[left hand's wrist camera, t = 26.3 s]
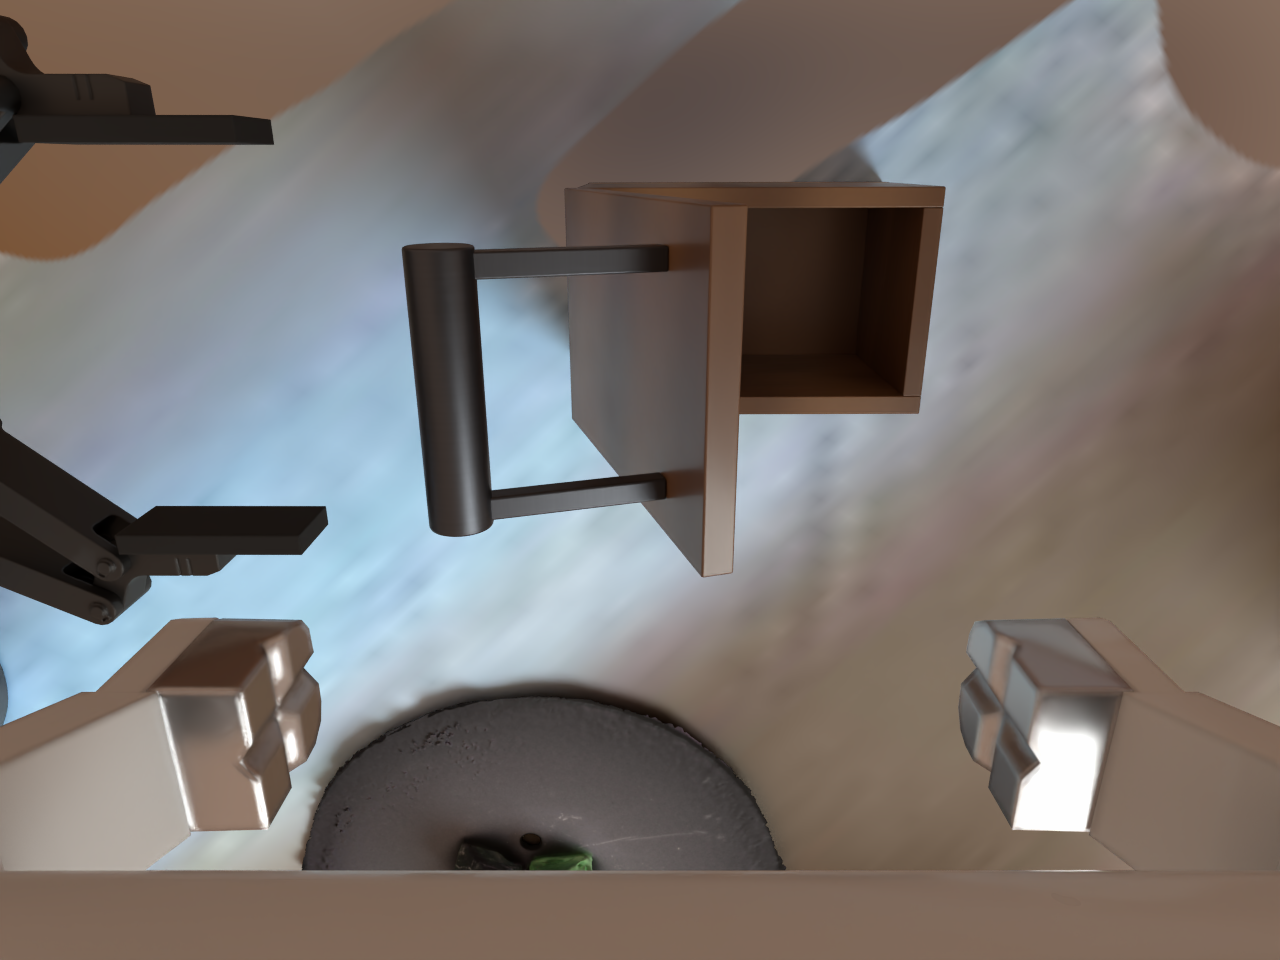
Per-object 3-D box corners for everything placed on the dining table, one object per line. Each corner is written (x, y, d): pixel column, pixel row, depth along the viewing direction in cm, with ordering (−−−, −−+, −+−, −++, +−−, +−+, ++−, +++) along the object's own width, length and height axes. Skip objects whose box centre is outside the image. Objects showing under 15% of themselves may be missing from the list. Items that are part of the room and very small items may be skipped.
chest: (882, 181, 44) (946, 186, 35) (865, 366, 48) (919, 414, 38) (589, 182, 44) (576, 187, 35) (593, 366, 48) (582, 415, 38)
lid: (748, 204, 20) (402, 210, 18) (733, 573, 23) (442, 616, 21) (586, 187, 35) (385, 190, 32) (592, 417, 38) (411, 433, 36)
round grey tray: (285, 675, 54) (218, 779, 46) (819, 712, 55) (849, 821, 47) (327, 1018, 69) (282, 1144, 60) (751, 1044, 69) (765, 1172, 61)
